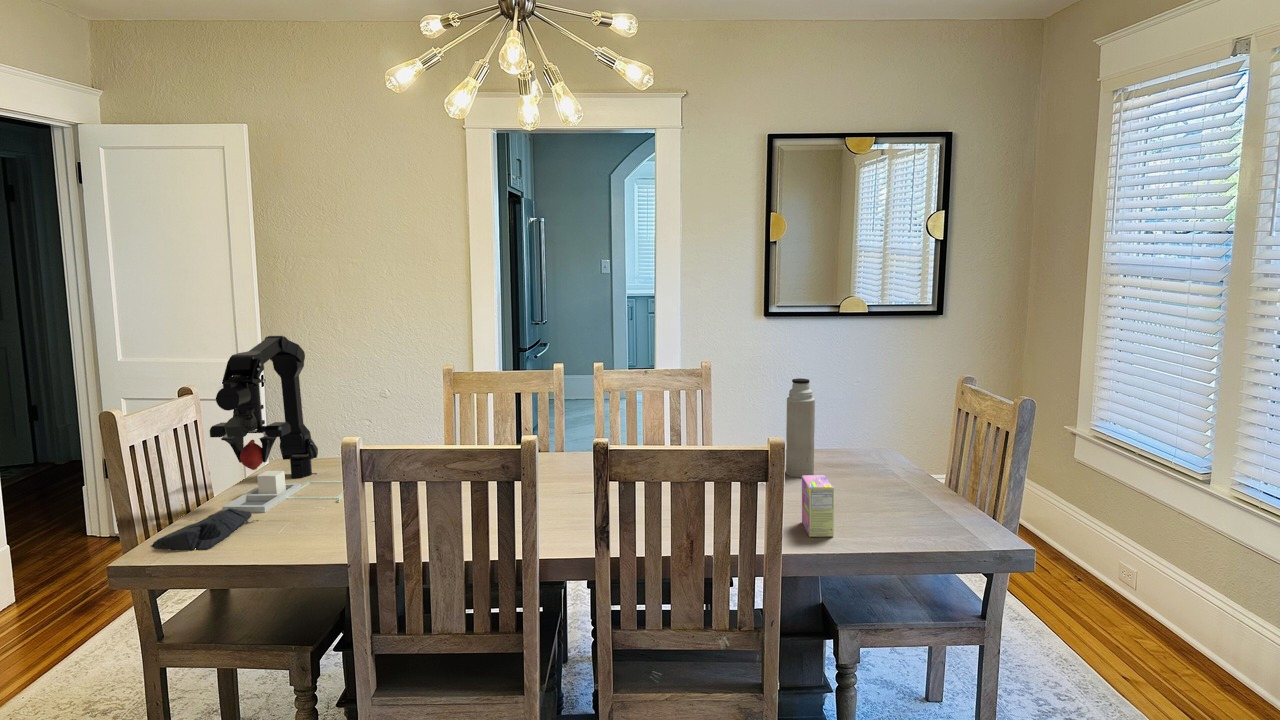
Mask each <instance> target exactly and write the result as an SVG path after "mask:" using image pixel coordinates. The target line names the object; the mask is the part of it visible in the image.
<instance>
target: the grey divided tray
mask: <svg viewBox="0 0 1280 720" xmlns="http://www.w3.org/2000/svg"><path fill="white" fill-rule="evenodd" d="M285 485H286V491H284V492H283V493H281V494H259V492H258V486H256V487H255V488H252V489H251V490H249V491H247V492H246V493H244V494H242V495H241V496H239V497H237V498H236V499H234V500H231V501H230V502H228V503H227V504H225V505H223V506H222V507H221V509H222V511H224V510H227V509H237V510H242V511H248V512H251V514H252V513H253V514H254V513H259V514H260V513H261V514H262V513H264V514H265V513H267V512H268V511H270V510H272V509H273V508H275V507H276V506H278V505H279V504H281V503H282V502H284V501H285V500H287V499H286V498H287V497H293V495H295V494H296V493H297V492H299V491H302V488H301V485H302V484H301V483H285Z"/></svg>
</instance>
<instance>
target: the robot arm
mask: <svg viewBox="0 0 1280 720" xmlns="http://www.w3.org/2000/svg"><path fill="white" fill-rule="evenodd" d="M305 359H306V353H305V351H304V349H303V348H302V347H301V346H300V345H299V344H298V343H295V342H293V341H291V340H289V339H288V338H287V337H286V336H284V335H268V336H266V337H264V339H263V340H262V341H261V342H259V343H257V345H255V346H254V347H252V348H251V349H250V350H248V351H244V352H243V351H242V352H239V353H235V354H232V355H231V356H230V357H229V359H228V361H227V364H226V367H225V370H224V374H223V378H222V388H221V389H219V390H218V392H217V394H216V395H215V402H216V405H217V406H218V407H219V408H220V409H222V410H223V411H232V410H233V412H232V413H233V414H232V417H231V418H229V419H228V420H227V422H220V423H219V422H218V423H217V424H214V425H212V426H211V427H210V428H209V438H220V439H221V441H224V442H226V443H227V444H229V446H230V447H231V449H232V450H233V452H234V455H235V457H236V459H237V460H238V462H239V463H240V464H242V463H241V460H240V453H241V451H242V449H243V448H244V438H245V437H246V436H247V435H248V434H262V435H263V436H262V437H259V438H258V439H259V441H260V443H261V448H262V458H263V463H267V462H268V459H269V456H270V453H271V451H272V449H273V446H274V443H275V441H276V440H277V438H279V449H280V454H281V457H282V461H283V460H284V461H285V460H289V462H290V475H291V480H292V479H293V480H295V479H300V480H301V479H304V478H306V477H307V478H308V477H310V476H312V475H318V473H317V472H313V469H312V468H313V467H312V460H313V459H316V458H318V454H319V448H318V446H317V445H316V443H315V442H314V440H313V439H312V435H311V431H310V430H309V429H308V428H307V426H306V425H305V424H304V416H303V415H304V414H303V403H302V397H301V395H302V394H301V384H300V382H301V381H300V374H301V372H302V370H303V369H304V368H305V367H304V366H305ZM269 360H270V361H271V362H272V365H273V370H274V371H275V372H276V374H277V375H278V376H279V377H280V382H281V383H280V384H281V391H282V393H281V394H282V401H283V402H282V403H283V413H284V421H274V422H272V423H270V424H268V425H265V424H266V421H265V419H263V417H262V415H263V414H262V410H263V409H264V404H262V403H261V392H260V391H261V390H260V383H262V379H261V378H260V377H261V375H262V374H261V373H263V371H265V366H264V365H265V363H267V362H268V361H269Z"/></svg>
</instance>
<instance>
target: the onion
mask: <svg viewBox="0 0 1280 720" xmlns="http://www.w3.org/2000/svg"><path fill="white" fill-rule="evenodd" d="M240 460H241V463H240V464H242V465H243V466H244V467H245V468H247V469H250V470H251V471H255V470H257V469H258V468H259V467H260V465H262V464H263V463H264V462H263V458H262V446H261V445H259V444H257V443H256V442H255V439H250V441H249V442H248V443H246V444H245V445H243V449H242V451H241V453H240Z"/></svg>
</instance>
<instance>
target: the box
mask: <svg viewBox="0 0 1280 720" xmlns="http://www.w3.org/2000/svg"><path fill="white" fill-rule="evenodd" d="M834 503H835V487H834V486H833V484H832V483H831V482H830V480H829V479H828V477H827V476H826V475H825V474H813V475H804V476H802V477H801V522H802V525H803V527H804V529H805V530H806V531H805V532H806V533H807V535H808V538H809V537H810V538H816V537H817V538H827V537H829V538H830V537H832V538H833V537H834V525H835V524H834V523H835V522H834V521H835V519H834V518H835V517H834V515H835V514H834V512H835V511H834V510H835V507H834V506H835V505H834Z"/></svg>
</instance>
